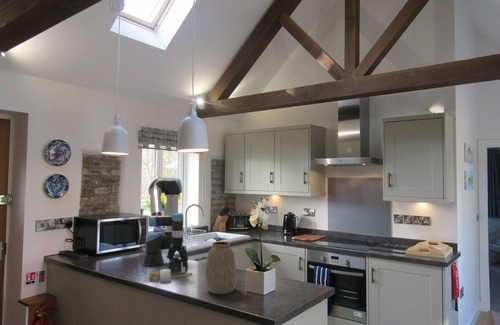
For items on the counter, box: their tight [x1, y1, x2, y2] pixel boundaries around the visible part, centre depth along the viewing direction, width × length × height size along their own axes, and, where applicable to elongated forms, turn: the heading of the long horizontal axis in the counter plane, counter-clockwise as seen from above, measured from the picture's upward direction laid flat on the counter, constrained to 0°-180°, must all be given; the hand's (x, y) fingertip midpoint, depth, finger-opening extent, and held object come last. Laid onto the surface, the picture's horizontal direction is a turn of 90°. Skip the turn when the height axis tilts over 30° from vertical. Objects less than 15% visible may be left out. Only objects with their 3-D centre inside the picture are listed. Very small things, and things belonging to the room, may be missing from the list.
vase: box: [205, 241, 237, 295], centre depth 207 cm, size 17×17×27 cm
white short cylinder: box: [159, 268, 171, 284], centre depth 226 cm, size 6×6×7 cm
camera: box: [167, 256, 189, 273], centre depth 240 cm, size 13×10×10 cm
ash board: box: [170, 271, 193, 280], centre depth 240 cm, size 12×15×1 cm
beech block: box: [148, 271, 160, 283], centre depth 228 cm, size 5×5×5 cm
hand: (177, 270), depth 240 cm, fingers closed on camera, 10 cm apart
